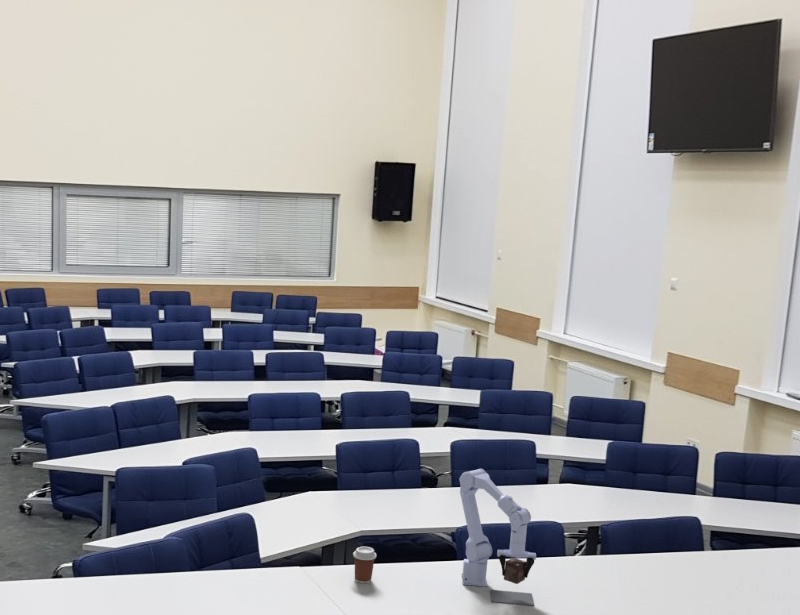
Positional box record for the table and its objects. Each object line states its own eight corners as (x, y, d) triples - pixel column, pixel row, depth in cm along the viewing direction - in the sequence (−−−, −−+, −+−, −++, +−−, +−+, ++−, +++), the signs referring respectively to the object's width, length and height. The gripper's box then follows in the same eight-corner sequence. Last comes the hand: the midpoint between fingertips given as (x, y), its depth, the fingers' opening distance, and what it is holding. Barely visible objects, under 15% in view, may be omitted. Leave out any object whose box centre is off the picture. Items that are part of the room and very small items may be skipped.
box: (511, 575, 369) (513, 557, 368) (525, 580, 365) (527, 561, 364) (503, 579, 364) (505, 561, 363) (517, 584, 360) (519, 565, 359)
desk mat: (491, 602, 359) (491, 601, 359) (489, 590, 370) (489, 589, 370) (534, 606, 359) (534, 605, 359) (531, 594, 370) (531, 593, 370)
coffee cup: (353, 584, 365) (356, 554, 364) (348, 575, 374) (351, 545, 373) (377, 584, 368) (379, 553, 367) (371, 574, 377) (373, 545, 375)
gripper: (499, 543, 359) (496, 578, 360) (538, 546, 359) (534, 581, 360) (498, 536, 366) (494, 570, 367) (536, 539, 366) (533, 574, 367)
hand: (514, 575), depth 364 cm, fingers closed on box, 7 cm apart
